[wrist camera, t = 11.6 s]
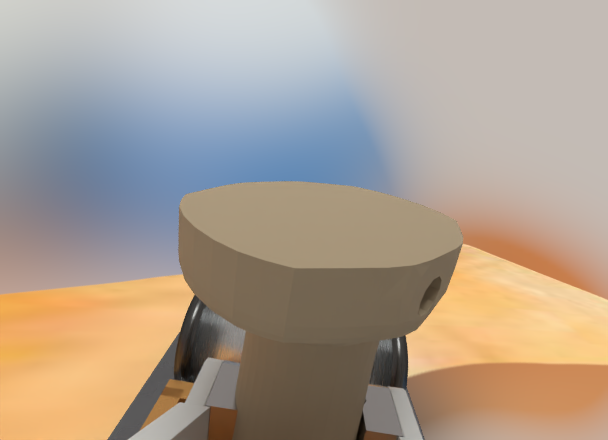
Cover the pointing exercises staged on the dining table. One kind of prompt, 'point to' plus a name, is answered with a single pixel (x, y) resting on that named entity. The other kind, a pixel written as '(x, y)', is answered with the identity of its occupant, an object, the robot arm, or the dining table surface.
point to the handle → (312, 292)
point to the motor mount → (227, 346)
